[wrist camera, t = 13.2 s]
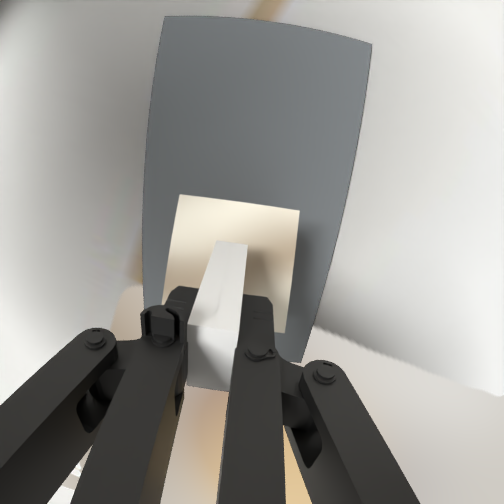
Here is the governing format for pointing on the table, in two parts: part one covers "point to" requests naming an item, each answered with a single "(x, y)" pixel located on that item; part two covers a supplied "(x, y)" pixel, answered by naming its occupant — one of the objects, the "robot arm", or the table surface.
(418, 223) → the table surface
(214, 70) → the rubber mat
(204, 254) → the light wooden block
